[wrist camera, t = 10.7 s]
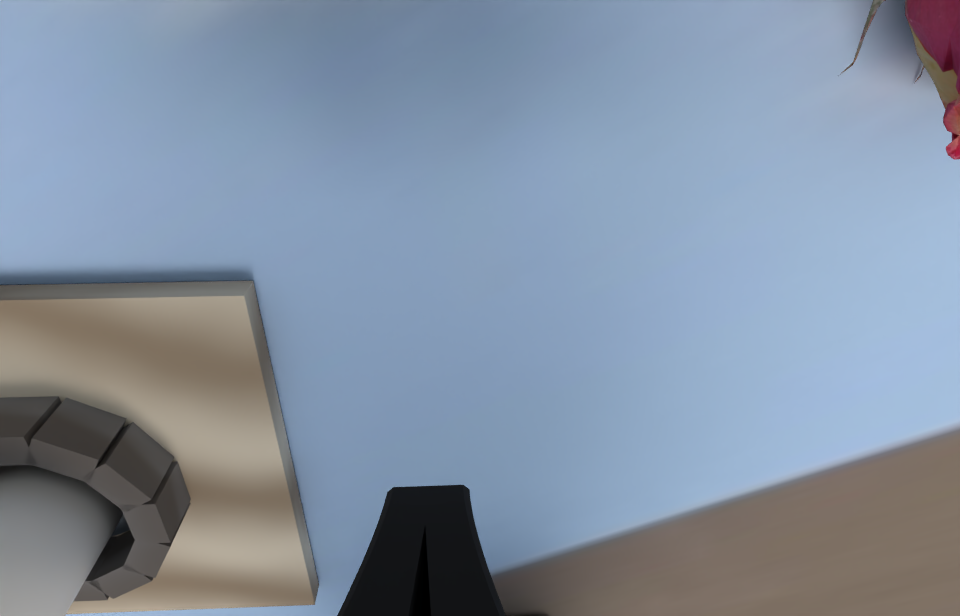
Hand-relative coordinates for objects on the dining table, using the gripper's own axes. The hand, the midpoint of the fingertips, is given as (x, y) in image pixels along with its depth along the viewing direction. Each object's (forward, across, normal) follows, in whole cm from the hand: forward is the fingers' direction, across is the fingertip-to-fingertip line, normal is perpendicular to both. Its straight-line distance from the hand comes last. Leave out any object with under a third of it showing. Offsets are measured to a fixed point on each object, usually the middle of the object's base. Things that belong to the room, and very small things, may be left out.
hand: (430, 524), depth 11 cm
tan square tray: (+10, +14, +8) cm, 20 cm away
